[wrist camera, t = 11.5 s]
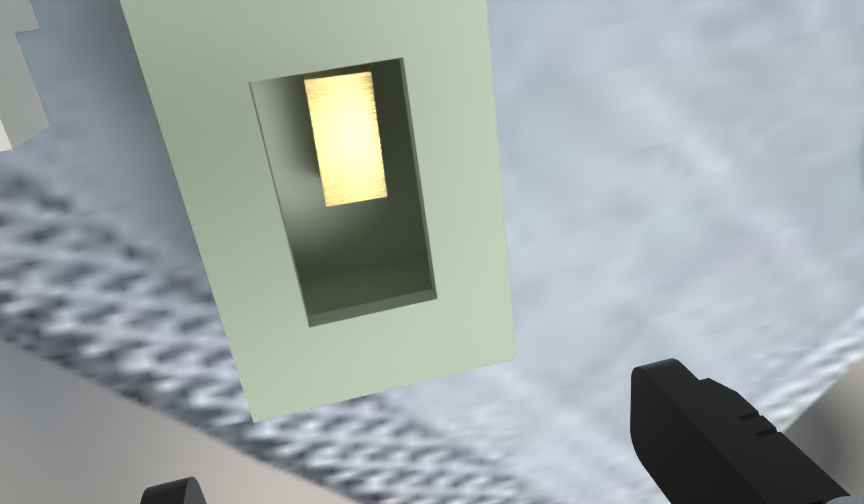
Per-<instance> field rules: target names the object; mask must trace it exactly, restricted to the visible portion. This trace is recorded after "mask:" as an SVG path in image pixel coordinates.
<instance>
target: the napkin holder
mask: <svg viewBox="0 0 864 504" xmlns="http://www.w3.org/2000/svg"><path fill="white" fill-rule="evenodd" d="M35 29H40V28H39V26H38V23H37V20H36V17H35V15H34V12H33V9H32V6H31V4H30V1H29V0H0V151H6V150H13V149H14V148H16V147H18V146H19V145H21V144H22V143H24V142H26V141H27V140H29V139H31V138H32V137H34V136H35V135H37V134H39V133H40V132H42V131H43V130H45V129H47V128H48V127H50V126H49V123H48V120H47V118H46V115H45V112H44V110H43V107H42V104H41V102H40V99H39V97H38V94H37V91H36V89H35V86H34V83H33V81H32V78H31V75H30V73H29V70H28V68H27V65H26V62H25V60H24V57H23V54H22V52H21V49H20V46H19V44H18V41H17V39H16V36H15V33H19V32H24V31H29V30H35Z"/></svg>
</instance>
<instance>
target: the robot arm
mask: <svg viewBox="0 0 864 504" xmlns="http://www.w3.org/2000/svg"><path fill="white" fill-rule="evenodd" d="M630 433H631V439H632V443H633V446H634V449H635V452H636V454H637V456H638V458H639V460H640V462H641V463H642V465H643V466H644V468H645V469H646V470H647V472H648V473H649V474H650V476H651V477H652V478H653V480H654V481H655V482H656V484H657V485H658V487H659V488H660V489H661V491H662V492H663V493H664V495H665V496H666V497H667V499H668V500H669V501H670V503H671V504H864V497H861V496H851V495H850V494H848V493H847V492H846V491H845V490H844V489H843V488H842V487H841V486H840V485H838V484H837V483H836V482H835V481H834V480H833V479H832V478H831V477H830V476H829V475H827V474H826V473H825V472H824V471H823V470H822V469H821V468H820V467H819V466H818V465H816V464H815V463H814V462H813V461H812V460H811V459H810V458H809V457H808V456H806V454H804V453H803V452H802V451H801V450H800V449H799V448H798V447H797V446H796V445H795V444H793V443H792V442H791V441H790V440H789V439H788V438H787V437H786V436H785V435H784V434H782V433H781V432H777V430H776V427H775V426H774V425H773V424H772V423H770V422H769V421H768V420H767V419H766V418H765V417H764V416H763V415H762V416H760V415H759V413H758V411H757V410H756V409H755V408H754V407H753V406H752V405H751V404H750V403H748V402H747V401H746V400H745V399H744V398H743V397H742V396H741V395H740V394H739V393H738V392H736V391H734V390H732V389H730V388H728V387H726V386H724V385H722V384H720V383H718V382H716V381H714V380H712V379H710V378H707V379H703V380H698V379H697V378H696V377H695V376H694V375H693V374H692V373H691V372H690V371H689V370H688V369H687V368H686V367H685V366H684V365H683V364H682V363H681V362H679V361H678V360H676V359H674V358H671V359H667V360H663V361H659V362H655V363H651V364H647V365H643V366H639V367H636V368H634V369H633V371H632V375H631V413H630ZM140 504H206V501H205V498H204V496H203V493H202V491H201V488H200V486H199V483H198V481H197V480H196V479H195V478H194V477H189V478H184V479H180V480H176V481H173V482H168V483H164V484H160V485H156V486H153V487H149V488H147V489H146V490H145V491H144V493H143V496H142V499H141V503H140Z"/></svg>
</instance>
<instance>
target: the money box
mask: <svg viewBox="0 0 864 504" xmlns="http://www.w3.org/2000/svg"><path fill="white" fill-rule="evenodd" d="M120 3H121V6H122V9H123V12H124V16H125V19H126V22H127V25H128V28H129V31H130V35H131V38H132V41H133V44H134V47H135V50H136V53H137V57H138V60H139V63H140V66H141V69H142V72H143V75H144V79H145V82H146V85H147V88H148V91H149V94H150V97H151V101H152V104H153V107H154V110H155V113H156V116H157V119H158V123H159V126H160V129H161V132H162V135H163V138H164V142H165V145H166V148H167V151H168V154H169V157H170V160H171V164H172V167H173V170H174V173H175V176H176V179H177V182H178V186H179V189H180V192H181V195H182V198H183V201H184V204H185V208H186V211H187V214H188V217H189V220H190V223H191V227H192V230H193V233H194V236H195V239H196V242H197V245H198V249H199V252H200V255H201V258H202V261H203V264H204V267H205V271H206V274H207V277H208V280H209V283H210V286H211V289H212V293H213V296H214V299H215V302H216V305H217V308H218V311H219V315H220V318H221V321H222V324H223V327H224V330H225V334H226V337H227V340H228V343H229V346H230V349H231V352H232V356H233V359H234V362H235V365H236V368H237V371H238V374H239V378H240V381H241V384H242V387H243V390H244V393H245V396H246V400H247V403H248V406H249V409H250V412H251V415H252V419H253V422H258V421H262V420H266V419H271V418H275V417H279V416H283V415H287V414H291V413H295V412H299V411H303V410H308V409H312V408H316V407H320V406H324V405H328V404H332V403H336V402H340V401H344V400H349V399H353V398H357V397H361V396H365V395H369V394H373V393H377V392H381V391H385V390H390V389H394V388H398V387H402V386H406V385H410V384H414V383H418V382H422V381H426V380H431V379H435V378H439V377H443V376H447V375H451V374H455V373H459V372H463V371H468V370H472V369H476V368H480V367H484V366H488V365H492V364H496V363H500V362H504V361H509V360H513V359H516V350H515V338H514V326H513V314H512V302H511V290H510V278H509V266H508V254H507V243H506V231H505V219H504V207H503V195H502V183H501V171H500V159H499V147H498V135H497V123H496V111H495V99H494V87H493V75H492V64H491V52H490V40H489V28H488V16H487V4H486V0H120ZM359 64H364V65H365V66H366V67H367V68H368V69H369V70H370V71H371V76H372V83H373V91H374V99H375V106H376V114H377V122H378V129H379V137H380V145H381V153H382V160H383V168H384V176H385V183H386V191H387V197H382V198H376V199H370V200H364V201H358V202H352V203H345V204H339V205H333V206H327V207H326V202H325V197H324V192H323V187H322V183H321V178H320V172H319V166H318V160H317V155H316V149H315V143H314V138H313V132H312V126H311V121H310V115H309V109H308V103H307V98H306V92H305V86H304V81H303V75H302V74H304V73H310V72H316V71H322V70H329V69H335V68H341V67H347V66H353V65H359Z"/></svg>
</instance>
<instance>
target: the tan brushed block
mask: <svg viewBox="0 0 864 504" xmlns="http://www.w3.org/2000/svg"><path fill="white" fill-rule="evenodd" d="M302 75H303V81H304V86H305V92H306V98H307V103H308V109H309V115H310V121H311V126H312V132H313V138H314V143H315V149H316V155H317V160H318V166H319V172H320V178H321V183H322V187H323V192H324V197H325V202H326V207H327V206H333V205H339V204H345V203H352V202H358V201H364V200H370V199H376V198H382V197H387V191H386V183H385V176H384V168H383V160H382V153H381V145H380V137H379V129H378V122H377V114H376V106H375V99H374V91H373V83H372V76H371V71H370V70H369V69H368V68H367V67H366V66H365V65H364V64H359V65H353V66H347V67H341V68H335V69H329V70H322V71H316V72H310V73H304V74H302Z"/></svg>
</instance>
